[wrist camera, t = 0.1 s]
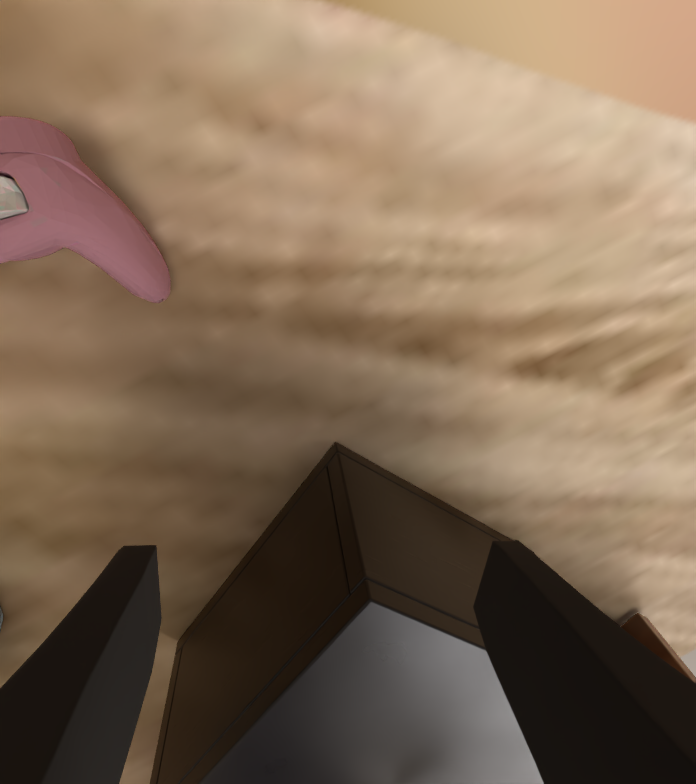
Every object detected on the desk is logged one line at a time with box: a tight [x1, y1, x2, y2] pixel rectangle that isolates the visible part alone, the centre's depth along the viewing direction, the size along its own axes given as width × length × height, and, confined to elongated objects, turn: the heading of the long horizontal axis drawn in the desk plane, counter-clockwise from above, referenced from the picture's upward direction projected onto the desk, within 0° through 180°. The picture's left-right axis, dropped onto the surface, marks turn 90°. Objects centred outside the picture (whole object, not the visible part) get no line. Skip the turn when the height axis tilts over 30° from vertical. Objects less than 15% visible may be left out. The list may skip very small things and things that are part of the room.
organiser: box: [150, 442, 544, 784], centre depth 21 cm, size 13×14×8 cm
